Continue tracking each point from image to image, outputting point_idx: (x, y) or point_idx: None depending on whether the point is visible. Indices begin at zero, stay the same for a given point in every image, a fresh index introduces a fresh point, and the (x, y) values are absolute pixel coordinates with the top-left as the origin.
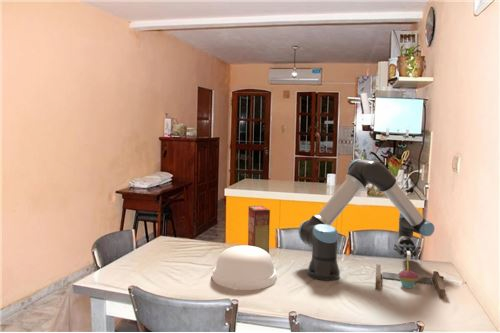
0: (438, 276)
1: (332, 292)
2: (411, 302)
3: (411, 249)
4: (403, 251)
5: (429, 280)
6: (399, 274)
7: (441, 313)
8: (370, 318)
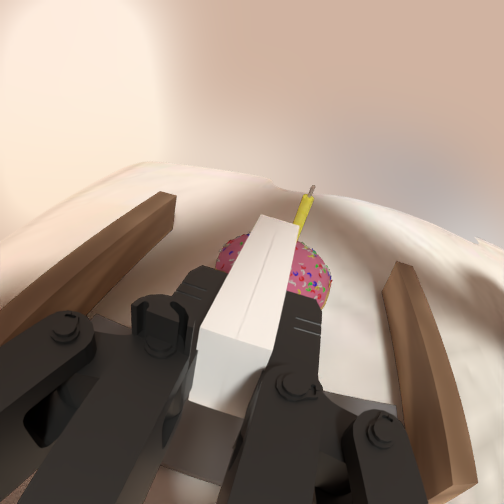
0: (60, 269)
1: (477, 287)
2: None
3: (56, 470)
4: (329, 404)
5: None
6: (329, 273)
7: (223, 191)
8: (373, 210)
